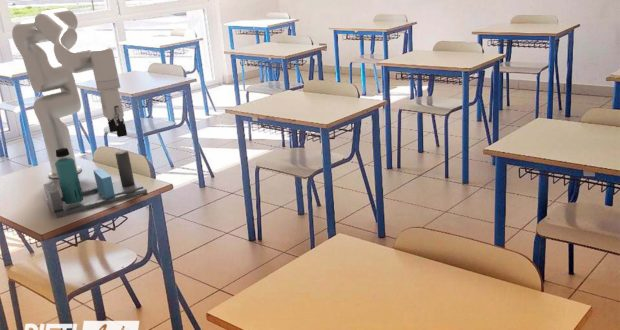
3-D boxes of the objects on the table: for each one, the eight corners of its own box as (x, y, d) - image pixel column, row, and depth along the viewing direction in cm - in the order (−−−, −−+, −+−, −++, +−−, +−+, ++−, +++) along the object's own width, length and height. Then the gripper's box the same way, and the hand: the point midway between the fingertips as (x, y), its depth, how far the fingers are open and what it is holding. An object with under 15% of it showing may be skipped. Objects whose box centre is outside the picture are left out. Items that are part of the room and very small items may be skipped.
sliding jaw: (98, 191, 226) (90, 155, 221) (133, 182, 232) (126, 146, 227) (106, 200, 216) (98, 163, 211) (143, 190, 222) (136, 153, 218)
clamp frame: (47, 204, 220) (42, 182, 217) (133, 181, 234) (129, 161, 231) (56, 218, 206) (51, 195, 203) (147, 193, 220) (143, 171, 218)
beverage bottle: (78, 208, 213) (65, 151, 206) (60, 208, 214) (47, 152, 208) (88, 201, 219) (76, 145, 212) (71, 201, 220) (58, 146, 214)
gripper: (90, 84, 219) (101, 132, 224) (103, 89, 204) (114, 140, 209) (112, 80, 222) (122, 127, 227) (126, 85, 208) (136, 135, 213)
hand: (118, 133), depth 218 cm, fingers open, 9 cm apart
